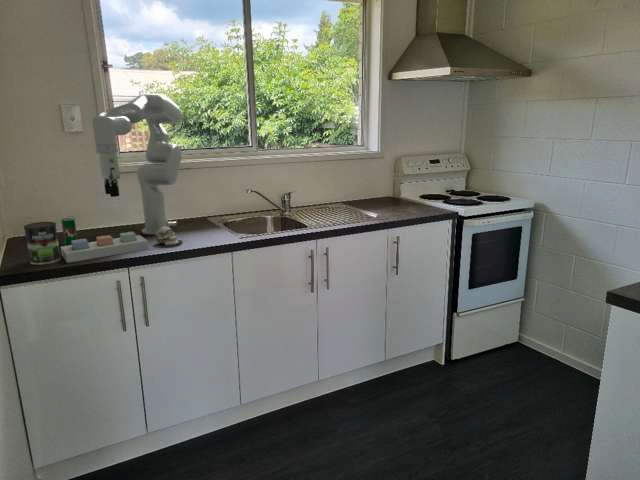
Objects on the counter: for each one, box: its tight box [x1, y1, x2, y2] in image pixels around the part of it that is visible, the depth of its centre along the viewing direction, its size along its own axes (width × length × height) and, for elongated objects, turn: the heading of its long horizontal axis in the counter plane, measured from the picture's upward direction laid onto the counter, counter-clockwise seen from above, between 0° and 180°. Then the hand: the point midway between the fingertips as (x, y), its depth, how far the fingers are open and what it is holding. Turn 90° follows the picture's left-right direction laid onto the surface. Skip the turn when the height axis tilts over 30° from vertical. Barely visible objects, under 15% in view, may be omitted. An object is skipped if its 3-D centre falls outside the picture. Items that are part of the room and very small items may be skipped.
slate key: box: [71, 238, 89, 251], centre depth 179 cm, size 5×5×4 cm
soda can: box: [60, 215, 78, 246], centre depth 195 cm, size 5×5×12 cm
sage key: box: [119, 231, 137, 243], centre depth 190 cm, size 5×5×4 cm
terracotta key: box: [95, 234, 114, 247], centre depth 185 cm, size 5×5×4 cm
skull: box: [152, 227, 183, 248], centre depth 196 cm, size 12×10×10 cm
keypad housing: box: [60, 234, 150, 264], centre depth 185 cm, size 30×12×4 cm, turn 127°
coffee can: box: [23, 221, 62, 266], centre depth 173 cm, size 10×10×14 cm
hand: (112, 194), depth 183 cm, fingers open, 6 cm apart
